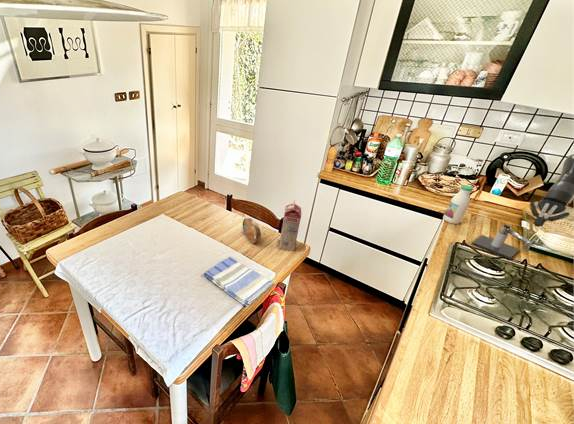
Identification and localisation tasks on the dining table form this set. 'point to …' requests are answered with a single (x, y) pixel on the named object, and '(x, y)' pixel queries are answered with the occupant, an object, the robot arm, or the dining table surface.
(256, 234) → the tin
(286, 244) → the juice carton
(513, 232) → the spout
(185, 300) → the dining table surface
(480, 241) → the faucet base
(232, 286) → the dish towel
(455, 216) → the milk bottle
